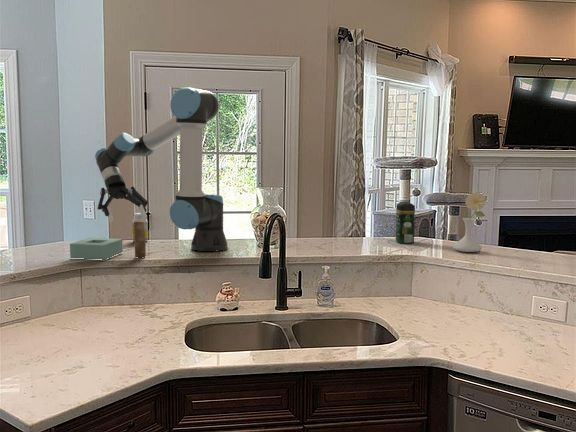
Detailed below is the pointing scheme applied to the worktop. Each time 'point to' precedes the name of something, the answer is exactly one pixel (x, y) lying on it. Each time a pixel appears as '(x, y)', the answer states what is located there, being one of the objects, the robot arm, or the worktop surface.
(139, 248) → the dowel
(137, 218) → the supplement bottle
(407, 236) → the coffee jar
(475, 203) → the flower in vase
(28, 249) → the worktop surface
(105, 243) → the socket block
